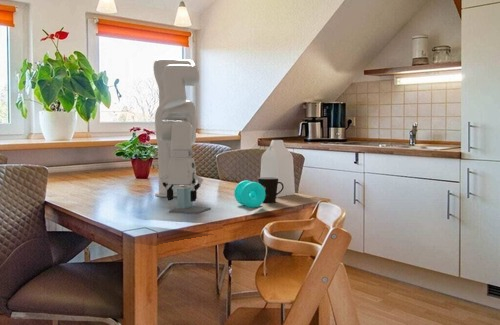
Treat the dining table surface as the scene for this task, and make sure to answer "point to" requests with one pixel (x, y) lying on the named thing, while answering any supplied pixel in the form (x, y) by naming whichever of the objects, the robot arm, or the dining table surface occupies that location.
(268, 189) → the coffee mug
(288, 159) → the milk
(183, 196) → the slab
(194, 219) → the dining table surface
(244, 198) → the teal spool
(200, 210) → the mat
